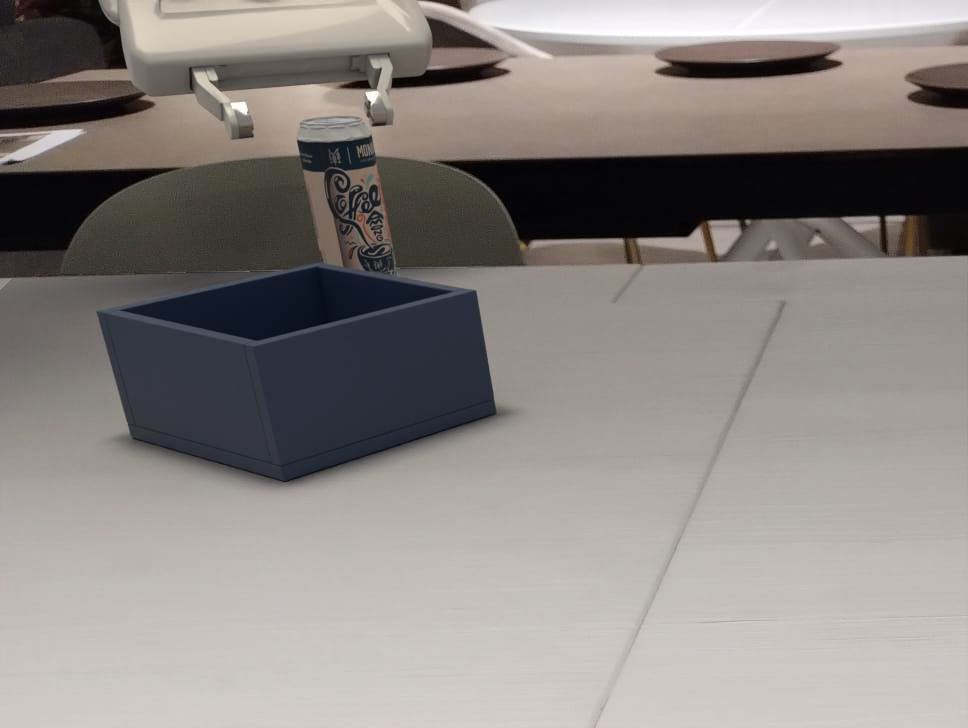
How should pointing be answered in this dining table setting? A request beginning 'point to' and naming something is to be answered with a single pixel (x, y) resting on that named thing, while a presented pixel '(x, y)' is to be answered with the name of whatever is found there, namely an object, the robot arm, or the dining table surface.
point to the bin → (299, 367)
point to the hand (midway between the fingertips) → (314, 126)
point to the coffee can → (346, 193)
